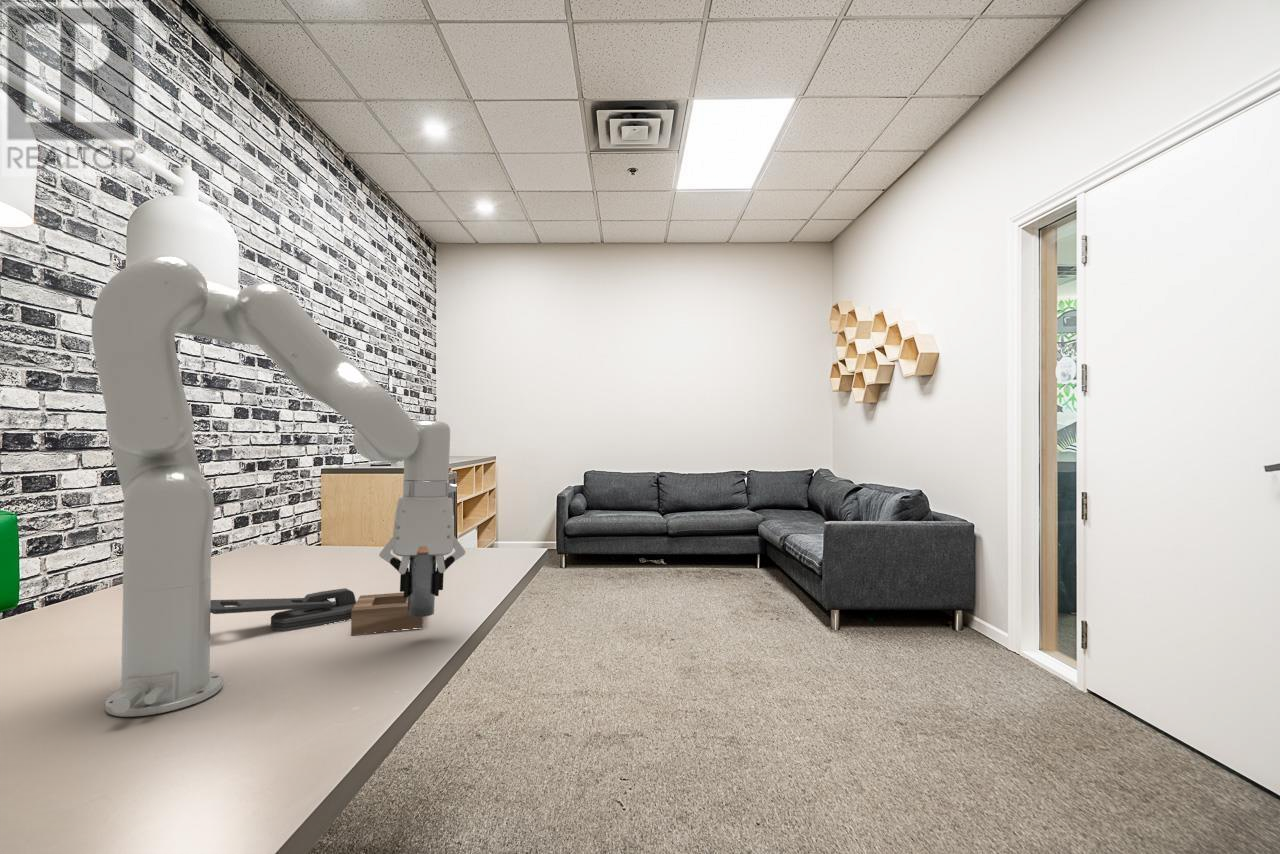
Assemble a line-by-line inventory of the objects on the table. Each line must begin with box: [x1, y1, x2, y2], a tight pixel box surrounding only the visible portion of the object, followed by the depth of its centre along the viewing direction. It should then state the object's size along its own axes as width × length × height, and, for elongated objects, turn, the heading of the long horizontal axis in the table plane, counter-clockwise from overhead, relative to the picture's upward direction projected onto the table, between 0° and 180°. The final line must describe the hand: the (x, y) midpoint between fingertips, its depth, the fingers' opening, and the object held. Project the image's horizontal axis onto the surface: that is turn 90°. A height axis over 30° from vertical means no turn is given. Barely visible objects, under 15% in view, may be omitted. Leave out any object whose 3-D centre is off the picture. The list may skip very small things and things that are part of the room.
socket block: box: [350, 592, 424, 636], centre depth 115 cm, size 11×12×4 cm
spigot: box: [407, 547, 437, 618], centre depth 105 cm, size 5×5×12 cm
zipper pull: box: [210, 587, 357, 632], centre depth 114 cm, size 9×7×25 cm
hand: (421, 594), depth 105 cm, fingers closed on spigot, 4 cm apart
